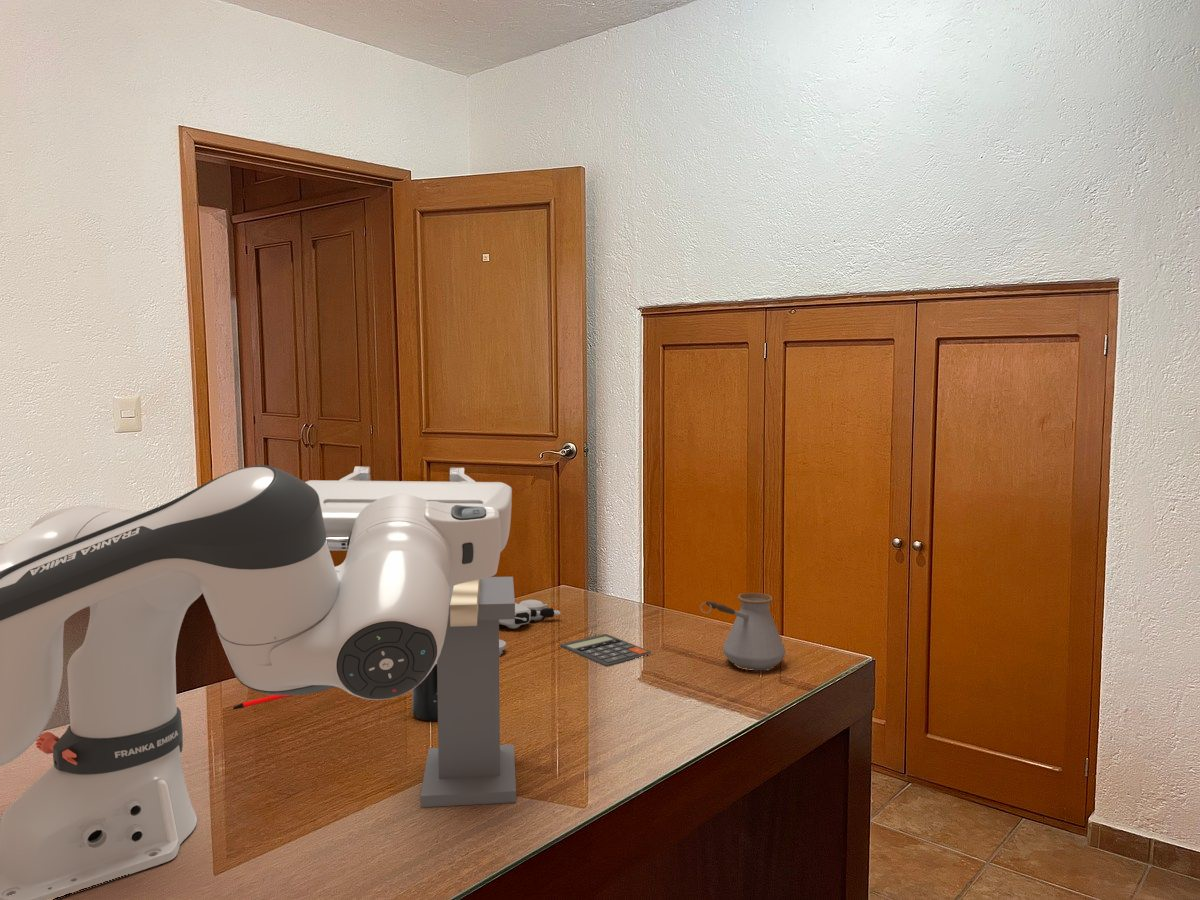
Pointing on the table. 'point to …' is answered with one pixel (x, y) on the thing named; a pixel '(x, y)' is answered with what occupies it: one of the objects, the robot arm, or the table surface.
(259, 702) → the pen
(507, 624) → the robot toy
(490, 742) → the charcoal stand
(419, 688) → the supplement bottle
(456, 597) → the maple bar
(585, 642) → the calculator
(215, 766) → the table surface
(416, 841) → the table surface
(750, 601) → the coffee pot
